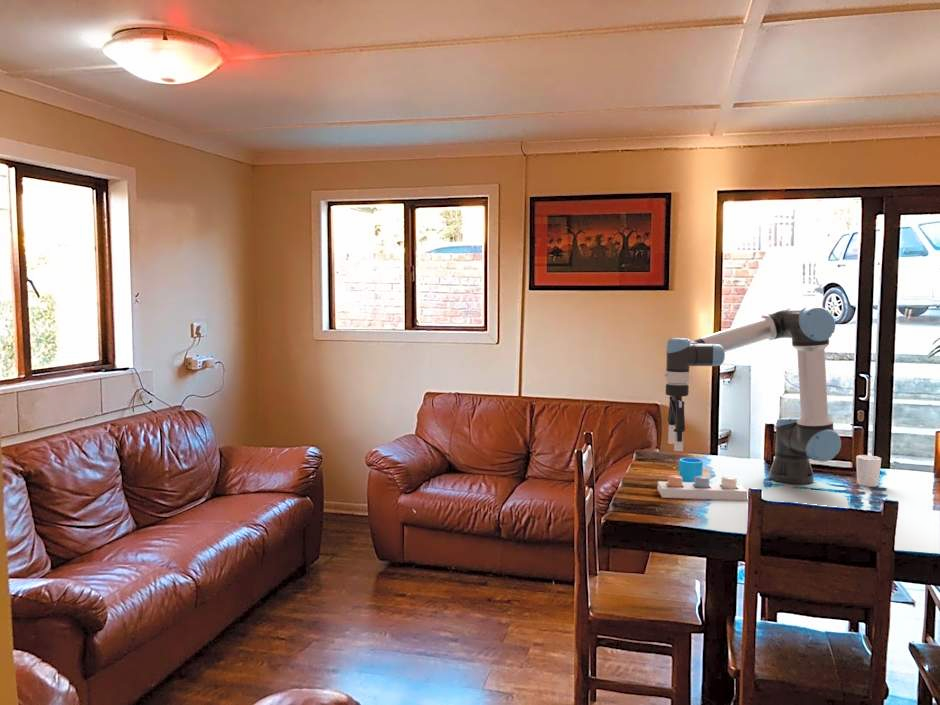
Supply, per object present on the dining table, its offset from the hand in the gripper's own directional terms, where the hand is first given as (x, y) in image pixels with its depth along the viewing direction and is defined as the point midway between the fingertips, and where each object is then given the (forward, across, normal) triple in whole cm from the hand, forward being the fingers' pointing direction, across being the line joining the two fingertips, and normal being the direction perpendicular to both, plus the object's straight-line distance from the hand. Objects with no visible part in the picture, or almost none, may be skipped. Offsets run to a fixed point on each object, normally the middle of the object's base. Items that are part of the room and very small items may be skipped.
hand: (675, 447), depth 251 cm
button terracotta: (+14, 0, 0) cm, 14 cm away
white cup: (+16, -21, +72) cm, 77 cm away
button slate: (+14, 0, +9) cm, 17 cm away
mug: (+17, -19, +8) cm, 26 cm away
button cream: (+14, 0, +18) cm, 23 cm away
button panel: (+16, 0, +9) cm, 19 cm away
